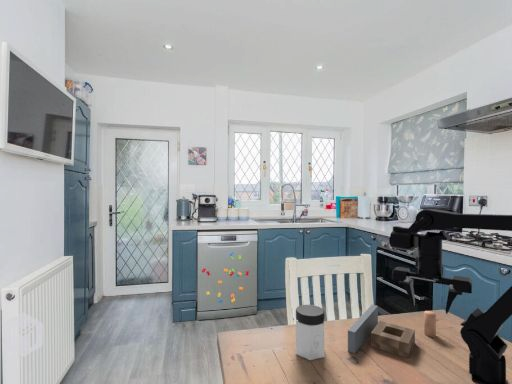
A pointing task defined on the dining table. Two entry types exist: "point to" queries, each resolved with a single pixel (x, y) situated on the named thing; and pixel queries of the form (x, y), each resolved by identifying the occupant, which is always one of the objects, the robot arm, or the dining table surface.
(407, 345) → the block
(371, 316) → the bar
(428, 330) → the dowel
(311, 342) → the jar
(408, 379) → the dining table surface
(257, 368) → the dining table surface
